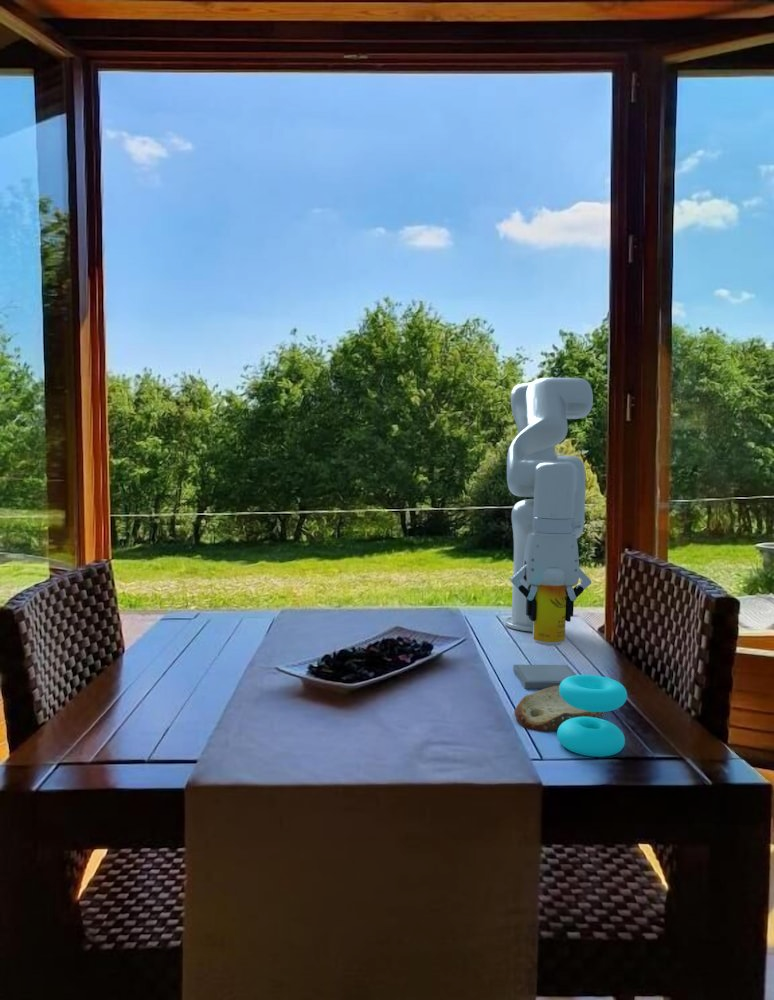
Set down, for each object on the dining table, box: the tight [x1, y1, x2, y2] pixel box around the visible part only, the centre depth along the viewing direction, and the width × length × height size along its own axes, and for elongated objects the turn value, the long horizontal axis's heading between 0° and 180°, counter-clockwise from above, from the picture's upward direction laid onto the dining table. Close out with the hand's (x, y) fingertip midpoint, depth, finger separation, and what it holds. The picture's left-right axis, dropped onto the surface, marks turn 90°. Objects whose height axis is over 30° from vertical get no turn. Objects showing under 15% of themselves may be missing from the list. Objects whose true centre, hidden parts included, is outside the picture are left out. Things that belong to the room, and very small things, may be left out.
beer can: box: [532, 568, 567, 647], centre depth 147 cm, size 6×6×15 cm
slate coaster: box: [512, 664, 577, 690], centre depth 149 cm, size 11×11×1 cm
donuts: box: [556, 674, 628, 758], centre depth 117 cm, size 10×10×10 cm
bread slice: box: [514, 685, 604, 733], centre depth 132 cm, size 18×18×4 cm
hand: (549, 618), depth 148 cm, fingers closed on beer can, 6 cm apart
